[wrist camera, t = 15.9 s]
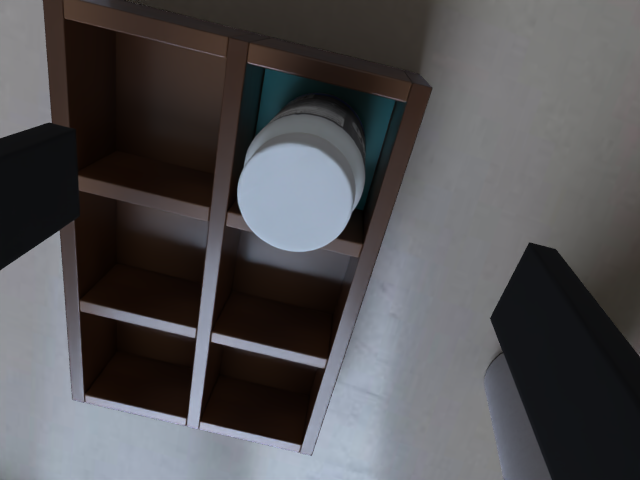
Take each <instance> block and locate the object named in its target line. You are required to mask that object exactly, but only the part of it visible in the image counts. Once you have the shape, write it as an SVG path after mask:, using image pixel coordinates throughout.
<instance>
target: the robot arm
mask: <svg viewBox="0 0 640 480" xmlns="http://www.w3.org/2000/svg"><path fill="white" fill-rule="evenodd" d="M78 217H80V202H79V182H78V163H77V143H76V129H73V128H69V127H65V126H61V125H57V124H53V123H46V124H43V125H40V126H37V127H34V128H31V129H28V130H25V131H22V132H19V133H16V134H13V135H9V136H6V137H3V138H0V270H1V269H3V268H4V267H6V266H7V265H9V264H10V263H12V262H13V261H15V260H16V259H18V258H19V257H20V256H22V255H23V254H25V253H26V252H28V251H29V250H31V249H32V248H34V247H35V246H37V245H38V244H40V243H41V242H43V241H44V240H46V239H47V238H49V237H50V236H52V235H53V234H55V233H56V232H57V231H59V230H60V229H62V228H63V227H65V226H66V225H68V224H69V223H71V222H72V221H74V220H75V219H77V218H78ZM490 319H491V322H492V325H493V327H494V330H495V332H496V335H497V338H498V340H499V343H500V346H501V348H502V351H503V353H504V356H505V359H506V361H507V364H508V367H509V369H510V372H511V374H512V377H513V380H514V382H515V385H516V387H517V390H518V393H519V395H520V398H521V401H522V403H523V406H524V408H525V411H526V414H527V416H528V419H529V421H530V424H531V427H532V429H533V432H534V435H535V437H536V440H537V442H538V445H539V448H540V450H541V453H542V456H543V458H544V461H545V463H546V466H547V469H548V471H549V474H550V476H551V479H552V480H640V357H639V355H638V354H637V353H636V351H635V350H634V349H633V348H632V346H631V345H630V344H629V342H628V341H627V340H626V339H625V337H624V336H623V335H622V334H621V332H620V331H619V330H618V328H617V327H616V326H615V325H614V323H613V322H612V321H611V319H610V318H609V317H608V316H607V314H606V313H605V312H604V310H603V309H602V308H601V307H600V305H599V304H598V303H597V301H596V300H595V299H594V298H593V296H592V295H591V294H590V292H589V291H588V290H587V289H586V287H585V286H584V285H583V283H582V282H581V281H580V280H579V278H578V277H577V276H576V274H575V273H574V272H573V271H572V269H571V268H570V267H569V265H568V264H567V263H566V262H565V260H564V259H563V258H562V256H561V255H560V254H559V253H558V251H557V250H556V249H553V248H549V247H545V246H541V245H537V244H533V243H529V244H528V246H527V248H526V250H525V252H524V254H523V256H522V258H521V259H520V261H519V263H518V265H517V267H516V269H515V271H514V273H513V275H512V277H511V279H510V281H509V283H508V285H507V287H506V288H505V290H504V292H503V294H502V296H501V298H500V300H499V302H498V304H497V306H496V308H495V310H494V312H493V314H492V316H491V318H490Z"/></svg>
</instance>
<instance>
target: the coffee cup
mask: <svg viewBox="0 0 640 480" xmlns="http://www.w3.org/2000/svg"><path fill="white" fill-rule="evenodd" d="M484 385H485V391H486V396H487V401H488V406H489V410H490V415H491V420H492V425H493V430H494V435H495V440H496V444H497V449H498V454H499V459H500V464H501V469H502V474H503V479H504V480H552V479H551V476H550V474H549V471H548V469H547V466H546V463H545V461H544V458H543V456H542V453H541V450H540V448H539V445H538V442H537V440H536V437H535V435H534V432H533V429H532V427H531V424H530V421H529V419H528V416H527V414H526V411H525V408H524V406H523V403H522V401H521V398H520V395H519V393H518V390H517V387H516V385H515V382H514V380H513V377H512V374H511V372H510V369H509V367H508V364H507V361H506V359H505V356H504V353H502V354H501V355H499V356H498V357H497V358H496V359H495V360H494V361H493V362H492V363H491V365H490V366H489V368H488V370H487V372H486V375H485V380H484Z"/></svg>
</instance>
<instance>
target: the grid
mask: <svg viewBox="0 0 640 480" xmlns="http://www.w3.org/2000/svg"><path fill="white" fill-rule="evenodd" d="M43 7H44V21H45V34H46V48H47V62H48V75H49V89H50V102H51V116H52V123H53V124H57V125H61V126H65V127H69V128H73V129H76V143H77V163H78V182H79V202H80V217H78V218H77V219H75V220H74V221H72V222H71V223H69V224H68V225H66V226H65V227H63V228H62V229H60V239H61V252H62V266H63V280H64V293H65V307H66V321H67V334H68V348H69V361H70V375H71V389H72V400H75V401H79V402H83V403H84V402H86V403H89V404H93V405H98V406H102V407H106V408H110V409H115V410H119V411H123V412H128V413H132V414H136V415H140V416H145V417H149V418H153V419H158V420H162V421H166V422H170V423H175V424H179V425H183V426H186V425H187V427H191V428H195V429H200V430H204V431H208V432H213V433H217V434H221V435H225V436H230V437H234V438H238V439H243V440H247V441H251V442H255V443H260V444H264V445H268V446H273V447H277V448H281V449H285V450H290V451H294V452H298V453H299V452H300V453H302V454H306V455H310V456H312V454H313V451H314V448H315V445H316V441H317V438H318V435H319V432H320V429H321V426H322V423H323V420H324V417H325V414H326V411H327V408H328V405H329V402H330V399H331V396H332V393H333V390H334V387H335V384H336V381H337V378H338V374H339V371H340V368H341V365H342V362H343V359H344V356H345V353H346V350H347V347H348V344H349V341H350V338H351V335H352V332H353V329H354V326H355V323H356V320H357V317H358V314H359V310H360V307H361V304H362V301H363V298H364V295H365V292H366V289H367V286H368V283H369V280H370V277H371V274H372V271H373V268H374V265H375V262H376V259H377V256H378V253H379V250H380V247H381V243H382V240H383V237H384V234H385V231H386V228H387V225H388V222H389V219H390V216H391V213H392V210H393V207H394V204H395V201H396V198H397V195H398V192H399V189H400V186H401V183H402V180H403V176H404V173H405V170H406V167H407V164H408V161H409V158H410V155H411V152H412V149H413V146H414V143H415V140H416V137H417V134H418V131H419V128H420V125H421V122H422V119H423V116H424V113H425V109H426V106H427V103H428V100H429V97H430V94H431V91H432V87H431V86H430V85H429V84H428V83H427V82H426V80H425V79H424V78H423V77H422V76H421V75H420V74H418V73H414V72H410V71H406V70H402V69H398V68H394V67H390V66H386V65H382V64H378V63H374V62H370V61H366V60H362V59H358V58H353V57H349V56H345V55H341V54H337V53H333V52H329V51H325V50H321V49H317V48H313V47H309V46H305V45H301V44H297V43H293V42H289V41H285V40H281V39H277V38H273V37H269V36H265V35H261V34H257V33H253V32H249V31H245V30H241V29H237V28H233V27H229V26H225V25H221V24H217V23H213V22H209V21H205V20H201V19H197V18H193V17H189V16H185V15H181V14H176V13H172V12H168V11H164V10H160V9H156V8H152V7H148V6H144V5H140V4H136V3H132V2H128V1H124V0H43ZM309 93H326V94H330V95H334V96H336V97H338V98H340V99H342V100H344V101H345V102H346V103H348V104H349V105H350V106H351V107H352V108H353V110H354V111H355V112H356V113H357V115H358V116H359V118H360V120H361V122H362V125H363V128H364V133H365V184H364V188H363V192H362V195H361V198H360V200H359V202H358V204H357V206H356V207H355V209H354V210H353V212H352V214H351V217H350V219H349V222H348V223H347V225H346V227H345V228H344V230H343V231H342V232H341V234H340V235H339V236H338V237H337V238H336V239H335V240H333V241H332V242H330V243H329V244H327V245H325V246H323V247H321V248H318V249H315V250H311V251H306V252H293V251H287V250H283V249H279V248H276V247H274V246H272V245H270V244H268V243H266V242H265V241H263V240H262V239H260V238H259V237H258V236H257V235H256V234H255V233H254V232H253V231H252V230H251V229H250V228H249V226H248V225H247V223H246V222H245V220H244V218H243V216H242V214H241V211H240V208H239V205H238V197H237V187H238V181H239V178H240V175H241V172H242V170H243V168H244V162H245V157H246V154H247V150H248V148H249V146H250V144H251V142H252V141H253V140H254V138H255V137H256V135H257V134H258V133H259V132H260V131H261V130H262V129H263V128H264V127H265V126H266V125H267V124H268V123H269V122H270V121H271V120H272V119H273V118H274V117H275V116H276V115H277V114H278V113H279V112H280V111H281V109H282V108H284V107H285V106H286V105H287V104H288V103H289V102H291V101H292V100H294V99H295V98H297V97H299V96H302V95H305V94H309Z"/></svg>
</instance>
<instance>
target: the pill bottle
mask: <svg viewBox="0 0 640 480" xmlns="http://www.w3.org/2000/svg"><path fill="white" fill-rule="evenodd" d="M364 184H365V133H364V128H363V125H362V122H361V120H360V118H359V116H358V115H357V113H356V112H355V111H354V110H353V108H352V107H351V106H350V105H349V104H348V103H346V102H345V101H344V100H342V99H340V98H338V97H336V96H334V95H330V94H326V93H309V94H305V95H302V96H299V97H297V98H295V99H294V100H292V101H291V102H289V103H288V104H287V105H286V106H285V107H284V108H282V109H281V111H280V112H279V113H278V114H277V115H276V116H275V117H274V118H273V119H272V120H271V121H270V122H269V123H268V124H267V125H266V126H265V127H264V128H263V129H262V130H261V131H260V132H259V133H258V134H257V135H256V137H255V138H254V140H253V141H252V142H251V144H250V146H249V148H248V150H247V154H246V157H245V162H244V168H243V170H242V172H241V175H240V178H239V181H238V187H237V197H238V205H239V208H240V211H241V214H242V216H243V218H244V220H245V222H246V223H247V225H248V226H249V228H250V229H251V230H252V231H253V232H254V233H255V234H256V235H257V236H258V237H259V238H260V239H262V240H263V241H265V242H266V243H268V244H270V245H272V246H274V247H276V248H279V249H283V250H287V251H293V252H306V251H311V250H315V249H318V248H321V247H323V246H325V245H327V244H329V243H330V242H332V241H333V240H335V239H336V238H337V237H338V236H339V235H340V234H341V232H342V231H343V230H344V228H345V227H346V225H347V223H348V222H349V219H350V217H351V214H352V212H353V210H354V209H355V207H356V206H357V204H358V202H359V200H360V198H361V195H362V192H363V188H364Z"/></svg>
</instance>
